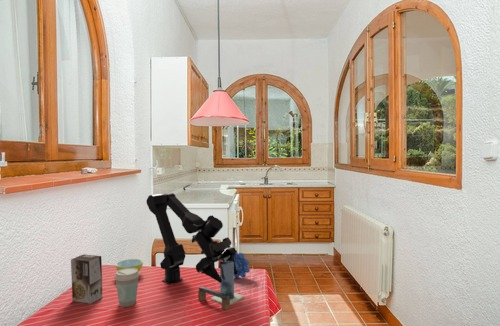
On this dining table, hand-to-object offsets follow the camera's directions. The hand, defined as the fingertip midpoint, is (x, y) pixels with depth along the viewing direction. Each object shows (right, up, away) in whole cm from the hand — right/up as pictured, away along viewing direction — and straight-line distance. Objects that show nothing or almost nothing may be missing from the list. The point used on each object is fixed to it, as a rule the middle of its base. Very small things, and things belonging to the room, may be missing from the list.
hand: (229, 277), depth 124 cm
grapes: (+2, -8, +21) cm, 22 cm away
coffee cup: (-37, -9, -3) cm, 38 cm away
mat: (-1, -8, +1) cm, 8 cm away
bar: (-5, -5, -4) cm, 8 cm away
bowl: (-47, -8, +25) cm, 53 cm away
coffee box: (-54, -9, +2) cm, 55 cm away
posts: (-5, -8, -4) cm, 11 cm away
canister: (-1, -7, +1) cm, 8 cm away
